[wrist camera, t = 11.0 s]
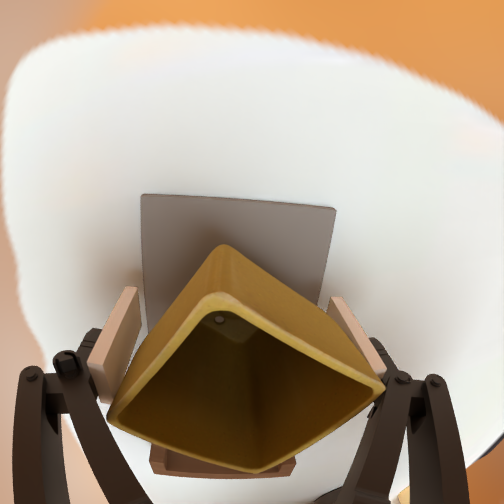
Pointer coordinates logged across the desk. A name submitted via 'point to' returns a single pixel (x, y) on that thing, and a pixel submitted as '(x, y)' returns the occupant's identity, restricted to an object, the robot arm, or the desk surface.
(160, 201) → the slate mat
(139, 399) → the flower pot
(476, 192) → the desk surface
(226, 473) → the pair of brown brackets
